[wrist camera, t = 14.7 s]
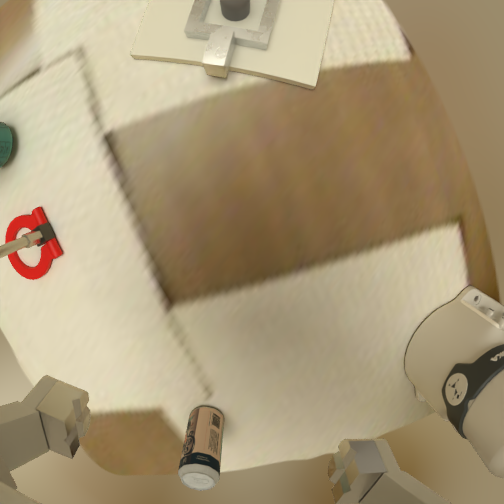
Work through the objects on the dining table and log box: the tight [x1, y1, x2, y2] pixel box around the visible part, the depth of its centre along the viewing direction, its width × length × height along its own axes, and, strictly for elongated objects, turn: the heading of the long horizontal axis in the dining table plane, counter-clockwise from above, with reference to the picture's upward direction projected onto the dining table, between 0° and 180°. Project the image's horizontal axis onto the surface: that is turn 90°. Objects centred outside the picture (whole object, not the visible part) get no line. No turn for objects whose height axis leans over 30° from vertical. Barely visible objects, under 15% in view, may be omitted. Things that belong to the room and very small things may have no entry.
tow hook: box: [0, 207, 63, 280], centre depth 29 cm, size 8×13×9 cm
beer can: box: [178, 407, 224, 491], centre depth 35 cm, size 5×5×12 cm
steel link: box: [184, 0, 280, 78], centre depth 26 cm, size 12×8×4 cm
